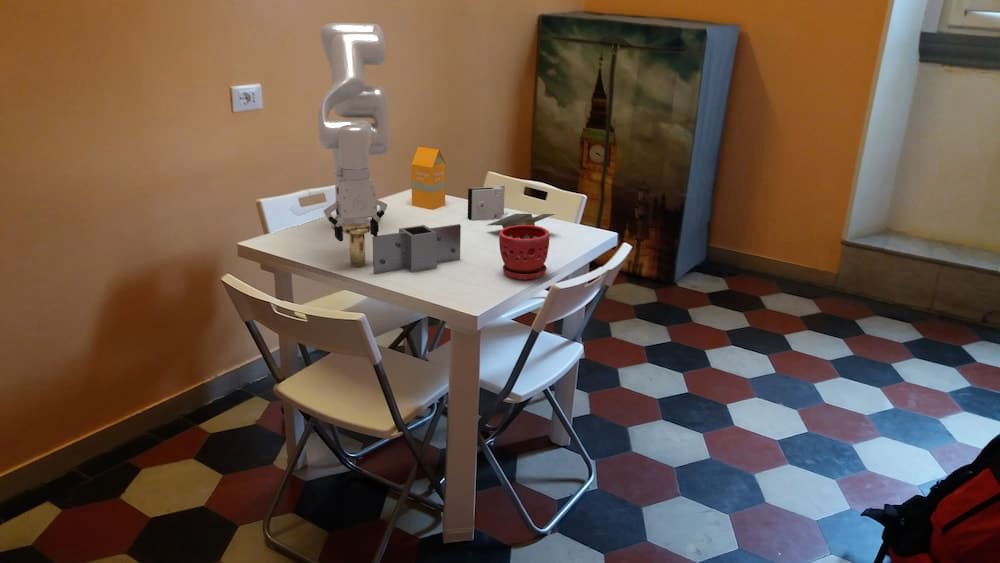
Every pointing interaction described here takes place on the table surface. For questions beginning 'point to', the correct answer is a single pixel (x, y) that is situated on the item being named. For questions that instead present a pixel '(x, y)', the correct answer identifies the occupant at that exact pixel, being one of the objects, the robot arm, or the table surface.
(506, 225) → the grey winged shape
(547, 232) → the plant pot
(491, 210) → the hinge
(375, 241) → the grey socket bracket
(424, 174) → the orange juice
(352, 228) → the pin
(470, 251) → the table surface
